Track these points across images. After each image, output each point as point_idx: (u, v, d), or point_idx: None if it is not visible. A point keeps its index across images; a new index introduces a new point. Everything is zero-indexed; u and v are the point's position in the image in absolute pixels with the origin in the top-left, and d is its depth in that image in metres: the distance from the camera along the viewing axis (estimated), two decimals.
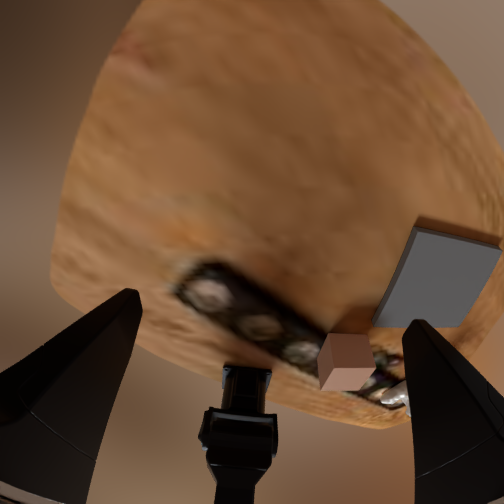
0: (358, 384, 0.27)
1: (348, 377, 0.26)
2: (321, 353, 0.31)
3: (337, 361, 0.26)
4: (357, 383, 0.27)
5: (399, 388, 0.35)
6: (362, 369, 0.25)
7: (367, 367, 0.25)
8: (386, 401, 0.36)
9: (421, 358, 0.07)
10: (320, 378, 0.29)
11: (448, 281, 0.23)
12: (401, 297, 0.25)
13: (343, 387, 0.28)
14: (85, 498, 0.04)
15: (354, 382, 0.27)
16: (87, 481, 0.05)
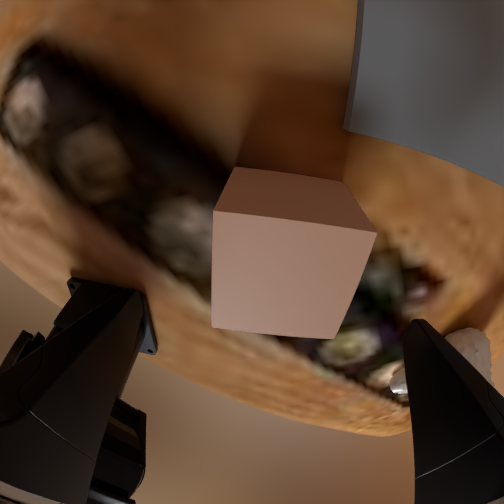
0: (327, 313, 0.10)
1: (285, 273, 0.09)
2: None
3: (233, 200, 0.09)
4: (324, 308, 0.10)
5: None
6: (326, 235, 0.08)
7: (345, 227, 0.08)
8: (401, 388, 0.18)
9: (421, 358, 0.07)
10: None
11: (487, 46, 0.06)
12: (397, 44, 0.07)
13: (281, 321, 0.10)
14: (85, 498, 0.04)
15: (314, 303, 0.09)
16: (87, 481, 0.05)
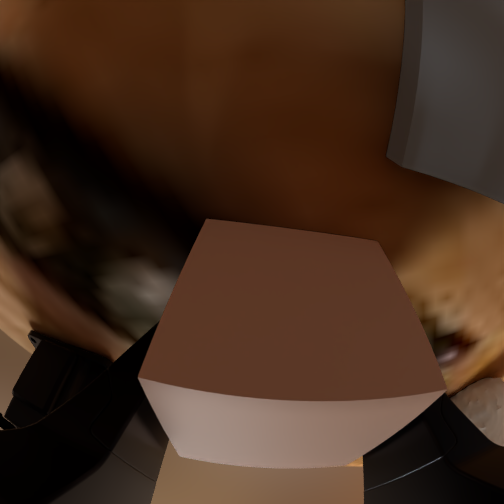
0: (340, 456, 0.05)
1: (281, 440, 0.04)
2: None
3: (183, 337, 0.04)
4: (337, 454, 0.05)
5: None
6: (363, 409, 0.03)
7: (399, 393, 0.03)
8: None
9: None
10: None
11: None
12: (472, 27, 0.03)
13: (275, 462, 0.06)
14: None
15: (324, 453, 0.05)
16: (146, 503, 0.04)
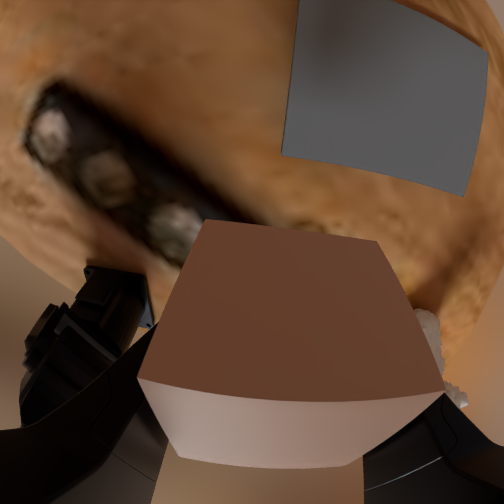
0: (340, 456, 0.05)
1: (280, 440, 0.04)
2: None
3: (182, 337, 0.04)
4: (337, 454, 0.05)
5: None
6: (361, 410, 0.03)
7: (398, 393, 0.03)
8: None
9: None
10: None
11: (406, 70, 0.11)
12: (318, 87, 0.13)
13: (274, 462, 0.06)
14: None
15: (323, 453, 0.05)
16: (146, 503, 0.04)
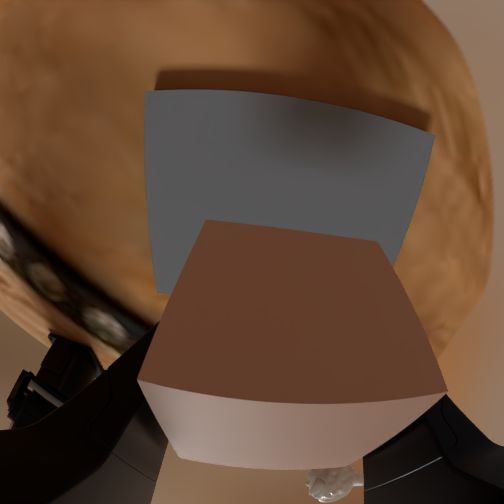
0: (341, 457, 0.05)
1: (281, 442, 0.04)
2: None
3: (183, 339, 0.04)
4: (338, 455, 0.05)
5: None
6: (362, 412, 0.03)
7: (400, 395, 0.03)
8: None
9: None
10: None
11: (281, 199, 0.13)
12: (175, 234, 0.14)
13: (275, 464, 0.06)
14: None
15: (324, 455, 0.05)
16: (146, 503, 0.04)
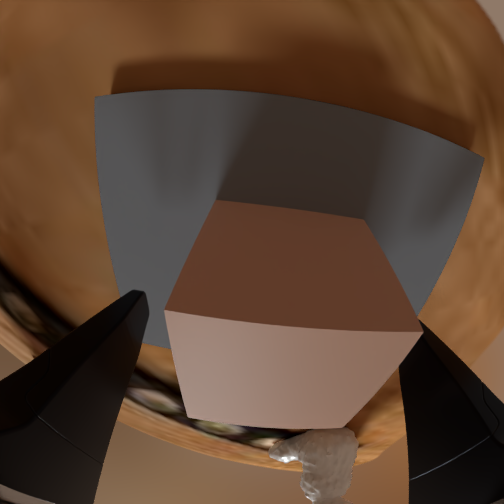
0: (336, 411, 0.06)
1: (281, 382, 0.06)
2: None
3: (201, 281, 0.05)
4: (333, 408, 0.06)
5: (292, 444, 0.21)
6: (348, 342, 0.05)
7: (379, 329, 0.05)
8: (275, 457, 0.22)
9: (415, 358, 0.07)
10: None
11: None
12: (146, 282, 0.11)
13: (276, 419, 0.07)
14: (92, 501, 0.04)
15: (321, 405, 0.06)
16: (94, 484, 0.05)
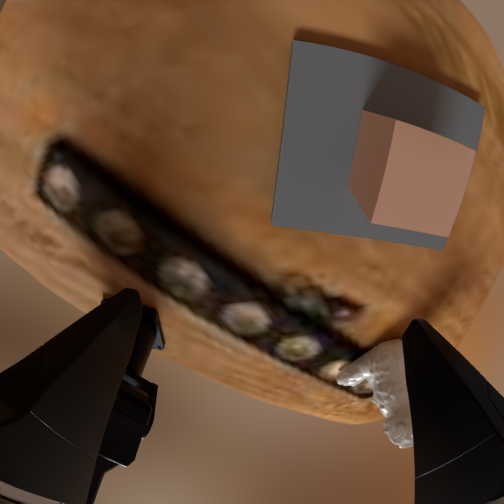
0: (447, 211, 0.11)
1: (430, 173, 0.10)
2: (355, 164, 0.15)
3: (397, 120, 0.10)
4: (446, 206, 0.11)
5: (361, 362, 0.26)
6: (453, 148, 0.09)
7: (461, 144, 0.09)
8: (343, 381, 0.27)
9: (421, 358, 0.07)
10: (364, 201, 0.13)
11: None
12: (305, 163, 0.16)
13: (420, 216, 0.11)
14: (85, 498, 0.04)
15: (442, 200, 0.11)
16: (87, 481, 0.05)
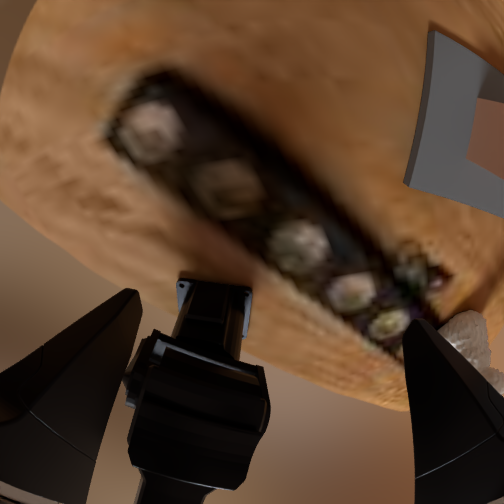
0: None
1: None
2: (474, 139, 0.13)
3: None
4: None
5: (441, 334, 0.24)
6: None
7: None
8: None
9: (421, 358, 0.07)
10: (496, 167, 0.11)
11: None
12: (441, 133, 0.14)
13: None
14: (85, 498, 0.04)
15: None
16: (87, 481, 0.05)
